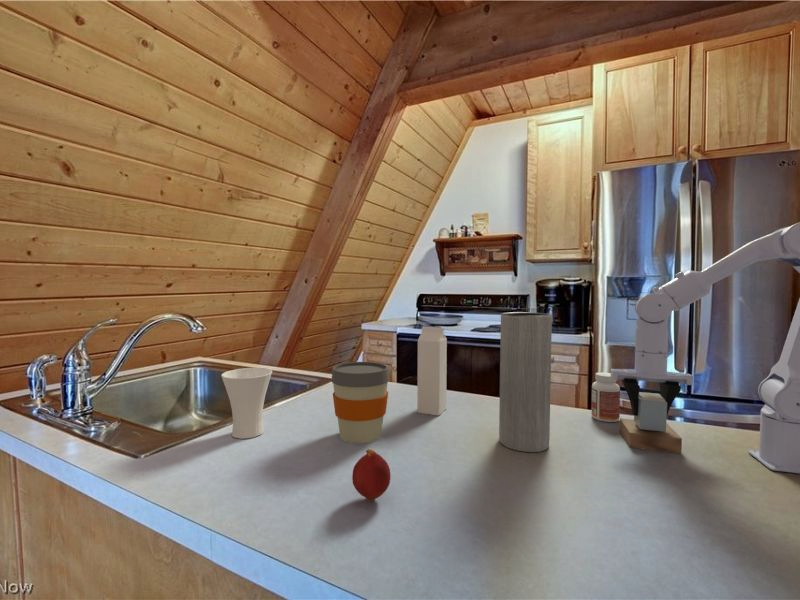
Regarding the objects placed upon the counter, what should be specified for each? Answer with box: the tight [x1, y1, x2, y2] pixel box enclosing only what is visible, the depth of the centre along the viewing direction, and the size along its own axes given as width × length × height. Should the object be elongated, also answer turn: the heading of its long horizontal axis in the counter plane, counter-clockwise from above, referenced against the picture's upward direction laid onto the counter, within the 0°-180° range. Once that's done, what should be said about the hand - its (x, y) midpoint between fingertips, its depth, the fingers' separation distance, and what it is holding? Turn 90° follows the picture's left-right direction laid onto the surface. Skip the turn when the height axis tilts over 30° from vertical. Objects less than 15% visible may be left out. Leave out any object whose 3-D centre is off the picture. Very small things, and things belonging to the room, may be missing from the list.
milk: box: [416, 326, 448, 417], centre depth 102 cm, size 6×6×22 cm
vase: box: [498, 311, 553, 453], centre depth 81 cm, size 10×10×27 cm
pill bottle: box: [591, 371, 621, 423], centre depth 96 cm, size 6×6×11 cm
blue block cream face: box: [633, 391, 668, 432], centre depth 81 cm, size 5×5×6 cm
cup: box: [220, 367, 273, 440], centre depth 86 cm, size 10×10×14 cm
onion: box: [351, 448, 391, 502], centre depth 60 cm, size 6×6×8 cm
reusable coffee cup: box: [331, 361, 390, 444], centre depth 85 cm, size 13×12×15 cm
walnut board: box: [619, 417, 683, 454], centre depth 82 cm, size 9×9×3 cm
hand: (649, 415), depth 82 cm, fingers closed on blue block cream face, 5 cm apart
